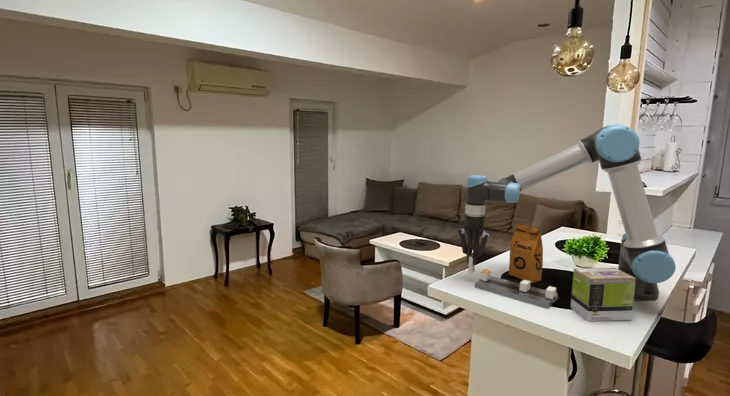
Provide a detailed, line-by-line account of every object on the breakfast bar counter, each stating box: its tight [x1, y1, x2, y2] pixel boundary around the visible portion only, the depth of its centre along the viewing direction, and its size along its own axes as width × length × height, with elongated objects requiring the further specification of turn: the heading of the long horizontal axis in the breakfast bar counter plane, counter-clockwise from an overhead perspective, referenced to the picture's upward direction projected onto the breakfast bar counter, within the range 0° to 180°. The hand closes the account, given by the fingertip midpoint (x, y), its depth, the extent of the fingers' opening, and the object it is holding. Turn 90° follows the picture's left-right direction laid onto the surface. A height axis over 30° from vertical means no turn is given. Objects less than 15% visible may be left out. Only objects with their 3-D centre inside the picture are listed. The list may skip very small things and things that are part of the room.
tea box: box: [570, 267, 636, 322], centre depth 128 cm, size 15×10×15 cm, turn 92°
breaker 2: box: [519, 280, 531, 292], centre depth 143 cm, size 2×4×3 cm, turn 139°
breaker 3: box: [545, 285, 557, 299], centre depth 137 cm, size 2×4×3 cm, turn 139°
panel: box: [474, 275, 559, 310], centre depth 145 cm, size 28×11×2 cm, turn 49°
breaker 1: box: [479, 268, 492, 281], centre depth 152 cm, size 2×4×3 cm, turn 139°
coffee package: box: [508, 223, 544, 284], centre depth 159 cm, size 10×12×22 cm
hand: (471, 271), depth 156 cm, fingers closed
